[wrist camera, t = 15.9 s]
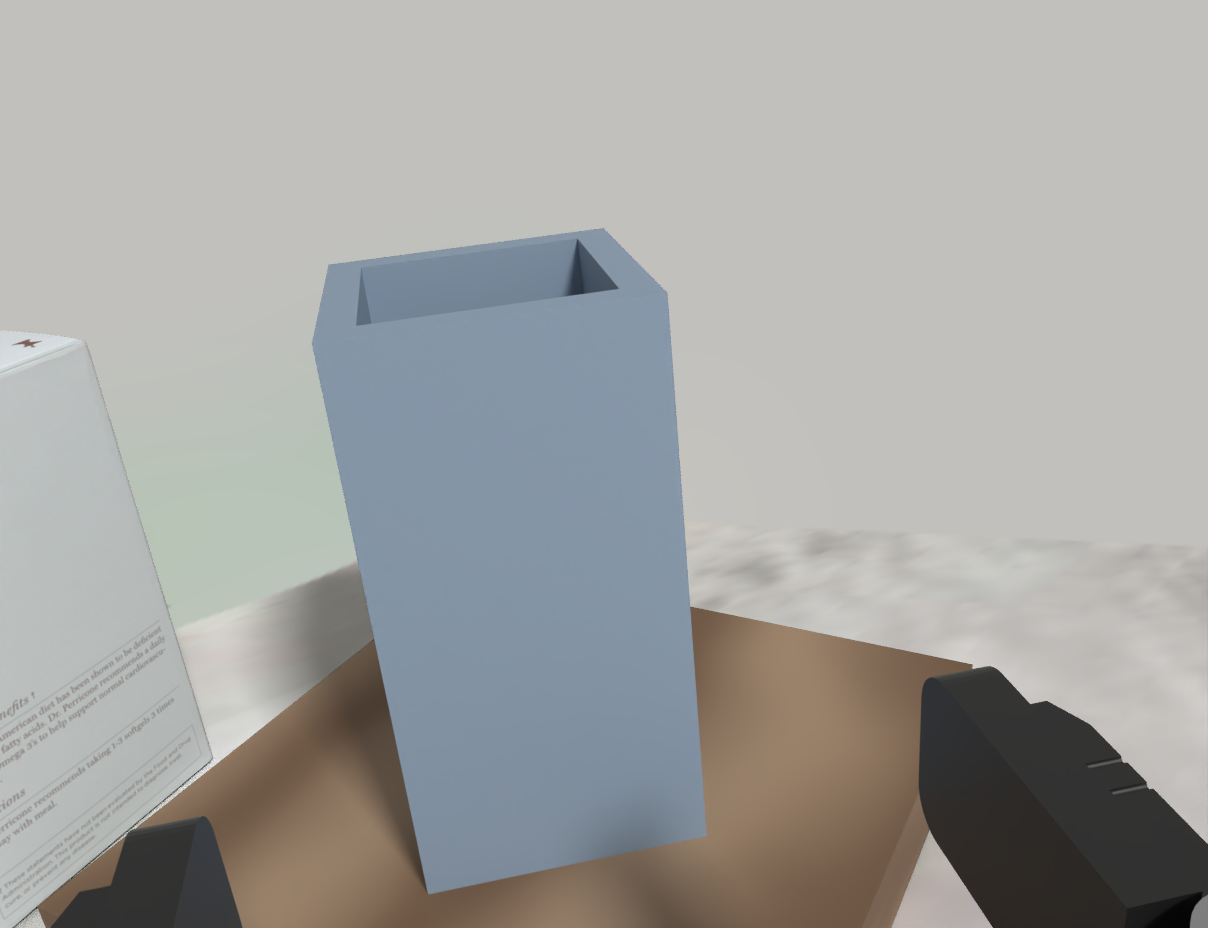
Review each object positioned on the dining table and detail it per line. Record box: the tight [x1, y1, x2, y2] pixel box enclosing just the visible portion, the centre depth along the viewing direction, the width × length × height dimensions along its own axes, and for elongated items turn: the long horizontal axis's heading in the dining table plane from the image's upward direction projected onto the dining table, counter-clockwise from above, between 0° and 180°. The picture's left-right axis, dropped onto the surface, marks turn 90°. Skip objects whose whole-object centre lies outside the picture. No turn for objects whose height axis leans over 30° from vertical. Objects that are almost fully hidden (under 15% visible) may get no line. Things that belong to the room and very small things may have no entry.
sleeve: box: [312, 228, 707, 894], centre depth 23 cm, size 6×6×12 cm
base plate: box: [37, 607, 972, 928], centre depth 26 cm, size 16×16×2 cm
